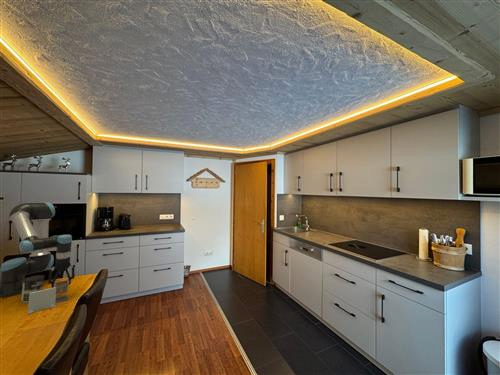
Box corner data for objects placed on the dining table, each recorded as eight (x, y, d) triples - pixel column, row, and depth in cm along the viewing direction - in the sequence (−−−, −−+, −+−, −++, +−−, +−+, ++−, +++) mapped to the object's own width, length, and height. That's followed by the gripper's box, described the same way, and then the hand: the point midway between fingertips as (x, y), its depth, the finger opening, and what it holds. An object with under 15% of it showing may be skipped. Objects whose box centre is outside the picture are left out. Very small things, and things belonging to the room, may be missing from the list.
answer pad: (51, 299, 139) (51, 298, 139) (66, 295, 145) (67, 294, 145) (52, 304, 134) (52, 303, 134) (68, 300, 140) (68, 299, 140)
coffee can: (46, 296, 143) (48, 276, 143) (28, 303, 133) (30, 282, 133) (35, 293, 145) (37, 274, 146) (16, 301, 135) (18, 280, 135)
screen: (27, 311, 125) (29, 291, 126) (54, 304, 134) (55, 285, 134) (27, 314, 122) (29, 294, 122) (55, 307, 131) (56, 288, 131)
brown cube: (54, 291, 139) (55, 282, 139) (66, 288, 144) (66, 280, 144) (55, 294, 135) (55, 285, 135) (67, 291, 139) (67, 283, 140)
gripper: (44, 262, 131) (41, 298, 130) (81, 256, 145) (79, 288, 144) (43, 259, 136) (40, 293, 135) (79, 253, 150) (77, 285, 149)
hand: (60, 291), depth 139 cm, fingers closed on brown cube, 6 cm apart
